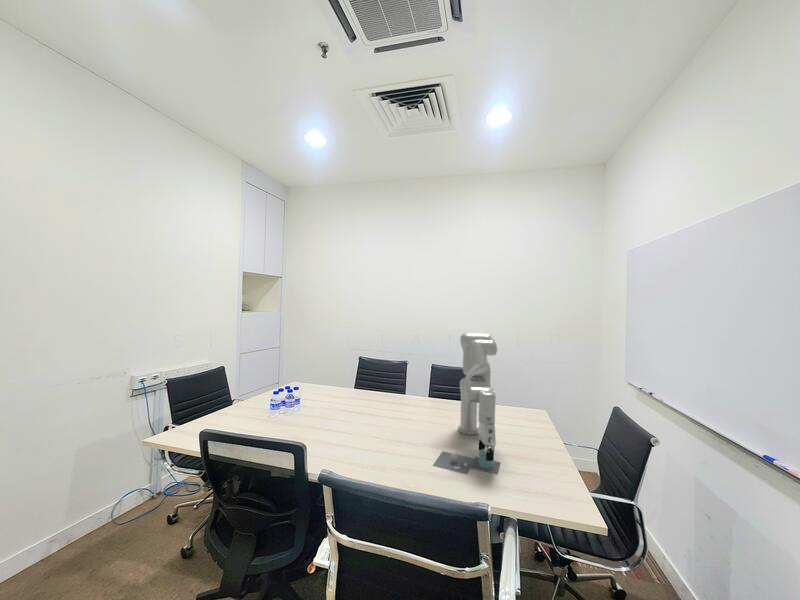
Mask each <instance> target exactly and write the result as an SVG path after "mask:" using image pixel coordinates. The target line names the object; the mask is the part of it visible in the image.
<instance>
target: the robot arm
mask: <svg viewBox="0 0 800 600" xmlns="http://www.w3.org/2000/svg"><path fill="white" fill-rule="evenodd" d="M459 339H460V340H459V341H460V346H461V348H462V349H461V350H462V354H463V356H462V372H463V375H465V377H463V378H461V379H460V381H459V389H460V390H459V391H460V425H458V427H457V431H458V432H459V433H461V434H463V435H469V436H470V435H471V436H474V435H478V451H479V450H481V449H487V451H486V460H487V461H495V460H494V455H495V453H494V452H495V447H496V445H497V443H496V427H495V426H496V425H495V423H496V391H495V390H494V389H493V388H492V387H491V364H490V362H489V361H488V357H487V356H492V357H494V356H496V355H497V354H498V353H497V352H498V347H497V343H496V341H495V339H494V337H493V336H492V335H491V334H490V333H481V332H480V333H479V332H478V333H477V332H466V333H465V332H464V333H462V334H461V335H460V338H459ZM477 426H478V427H477Z"/></svg>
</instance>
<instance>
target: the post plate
mask: <svg viewBox="0 0 800 600" xmlns="http://www.w3.org/2000/svg"><path fill="white" fill-rule="evenodd" d="M474 458H475V457H474ZM474 458H473V457H469V456H465V455H461V454H458V451H455V450H451V451H450V452H447V451H441V452H440V454H439V455H438V457H437V458H436V460H435V461H434V462H433V464H432V467H437V468H440V469H444V470H447V471H451V472H456V473H459V474H463V475H468V474H469V472H470V470H471V468H470V467H471V465H472V463H473V460H474Z"/></svg>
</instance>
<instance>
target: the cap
mask: <svg viewBox="0 0 800 600" xmlns="http://www.w3.org/2000/svg"><path fill="white" fill-rule="evenodd" d="M486 451H487V448H485V449H481V450H479V449H478V457H479V465H480V466H481V467H483V468H492V467H493V461H494V460H493V461H487V460H486Z"/></svg>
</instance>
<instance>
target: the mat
mask: <svg viewBox="0 0 800 600" xmlns="http://www.w3.org/2000/svg"><path fill="white" fill-rule="evenodd" d="M500 466H501V461H497V460H493V467H492V468H483V467H481V466H480V465H479V456H474V460H473V463H472V465H471V467H470V469H472V470H476V471H481V472H484V473H490V474H493V475H497V476H498V475H499V471H500V468H501V467H500Z"/></svg>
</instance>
